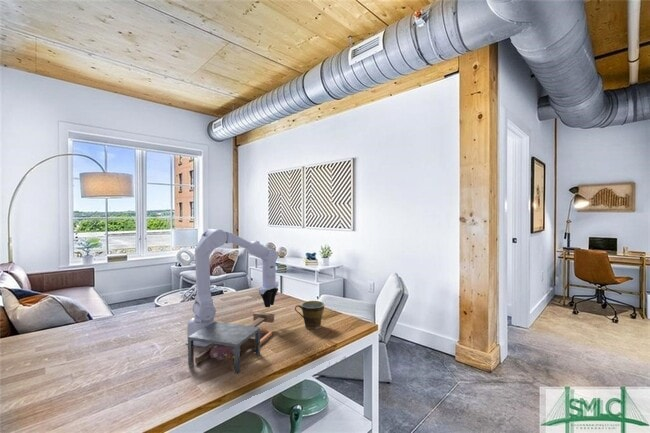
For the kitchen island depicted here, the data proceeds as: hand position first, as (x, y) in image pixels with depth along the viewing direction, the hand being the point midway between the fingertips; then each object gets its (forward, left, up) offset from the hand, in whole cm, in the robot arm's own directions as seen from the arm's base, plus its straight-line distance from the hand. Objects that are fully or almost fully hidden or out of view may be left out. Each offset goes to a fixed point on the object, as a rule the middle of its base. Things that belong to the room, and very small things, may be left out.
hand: (269, 305), depth 136 cm
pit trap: (0, -16, -8) cm, 18 cm away
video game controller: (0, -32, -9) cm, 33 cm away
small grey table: (0, -32, -8) cm, 33 cm away
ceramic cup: (+18, +3, -9) cm, 20 cm away
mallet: (0, -21, -8) cm, 23 cm away
